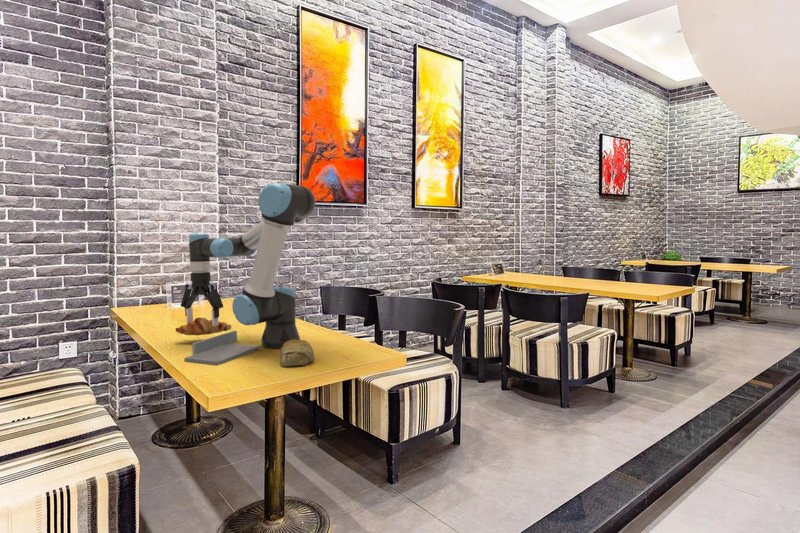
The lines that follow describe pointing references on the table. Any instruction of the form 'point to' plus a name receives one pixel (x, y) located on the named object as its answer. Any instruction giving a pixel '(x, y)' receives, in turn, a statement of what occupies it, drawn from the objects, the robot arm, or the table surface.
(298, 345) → the pastry
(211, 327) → the croissant
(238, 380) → the table surface
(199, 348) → the divider
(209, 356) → the serving plate
